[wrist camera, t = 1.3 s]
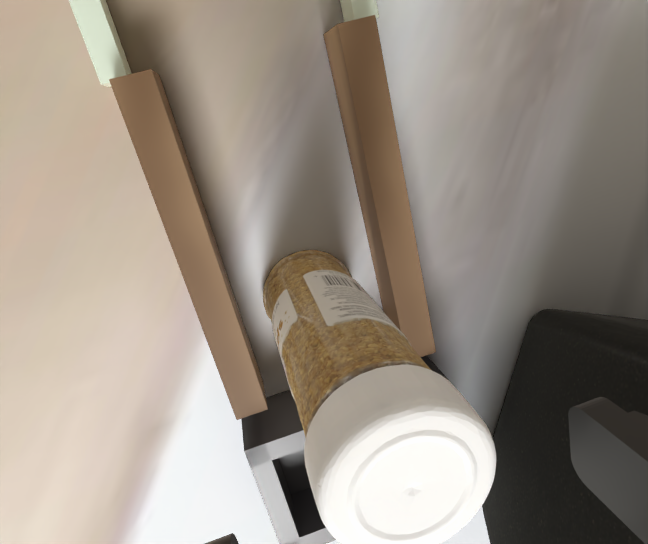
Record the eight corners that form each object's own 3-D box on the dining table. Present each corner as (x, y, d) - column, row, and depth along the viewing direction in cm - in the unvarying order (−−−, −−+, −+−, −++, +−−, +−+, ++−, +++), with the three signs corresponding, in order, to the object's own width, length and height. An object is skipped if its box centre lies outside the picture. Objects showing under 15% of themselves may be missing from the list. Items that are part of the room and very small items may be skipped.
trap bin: (418, 346, 26) (448, 379, 22) (438, 446, 28) (467, 489, 25) (240, 406, 25) (244, 451, 21) (276, 505, 27) (285, 558, 24)
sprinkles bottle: (242, 296, 23) (275, 514, 10) (308, 227, 22) (424, 366, 10) (309, 350, 24) (407, 594, 12) (371, 287, 24) (539, 470, 12)
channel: (356, 26, 20) (375, 14, 18) (415, 330, 25) (436, 352, 23) (121, 83, 19) (108, 79, 17) (234, 391, 24) (236, 420, 22)
